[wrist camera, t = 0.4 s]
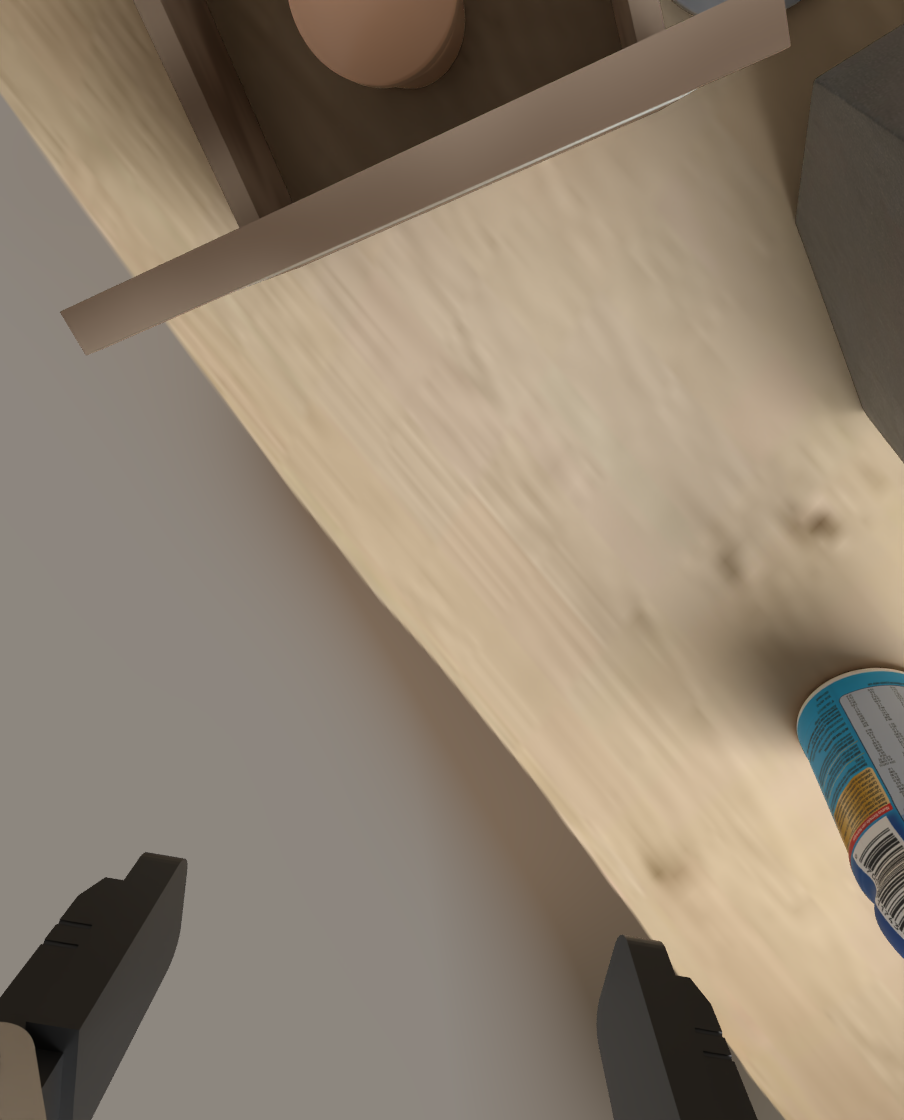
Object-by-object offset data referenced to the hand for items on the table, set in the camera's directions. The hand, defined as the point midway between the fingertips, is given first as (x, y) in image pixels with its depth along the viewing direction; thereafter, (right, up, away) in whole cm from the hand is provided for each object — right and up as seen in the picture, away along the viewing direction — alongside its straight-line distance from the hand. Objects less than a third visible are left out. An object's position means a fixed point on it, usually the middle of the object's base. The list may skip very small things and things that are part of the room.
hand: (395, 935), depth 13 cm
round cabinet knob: (-1, +30, +17) cm, 34 cm away
